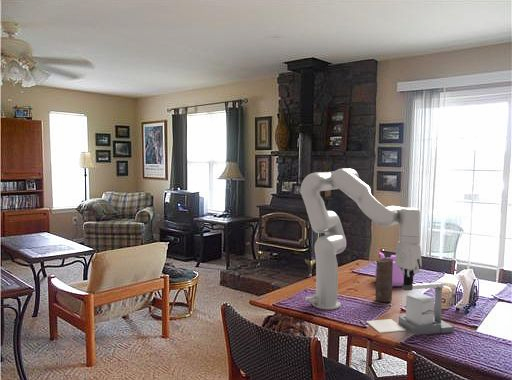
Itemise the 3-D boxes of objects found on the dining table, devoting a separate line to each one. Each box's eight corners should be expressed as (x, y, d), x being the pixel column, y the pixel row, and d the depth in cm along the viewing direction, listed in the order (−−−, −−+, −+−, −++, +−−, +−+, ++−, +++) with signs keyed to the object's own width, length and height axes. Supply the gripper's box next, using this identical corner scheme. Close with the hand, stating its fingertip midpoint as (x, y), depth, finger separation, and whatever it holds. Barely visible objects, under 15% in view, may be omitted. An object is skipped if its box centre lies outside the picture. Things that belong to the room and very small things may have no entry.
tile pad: (379, 333, 153) (379, 332, 153) (366, 322, 164) (366, 321, 164) (406, 330, 155) (406, 329, 155) (391, 319, 166) (391, 319, 166)
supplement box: (420, 333, 153) (421, 300, 152) (404, 326, 160) (405, 294, 159) (433, 329, 156) (434, 297, 156) (418, 323, 163) (419, 292, 162)
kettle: (423, 286, 211) (424, 258, 210) (386, 289, 206) (387, 260, 205) (399, 275, 233) (399, 249, 232) (365, 277, 228) (365, 250, 227)
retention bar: (406, 291, 154) (406, 285, 154) (401, 288, 157) (401, 283, 157) (445, 288, 157) (445, 283, 157) (439, 286, 160) (439, 281, 160)
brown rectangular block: (392, 304, 184) (393, 260, 183) (376, 303, 186) (377, 260, 184) (390, 299, 192) (391, 257, 190) (374, 297, 193) (375, 256, 192)
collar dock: (415, 335, 151) (416, 294, 150) (397, 323, 163) (398, 285, 162) (453, 332, 154) (454, 292, 153) (433, 320, 166) (434, 282, 165)
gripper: (388, 236, 165) (387, 281, 166) (415, 243, 151) (414, 292, 152) (403, 235, 167) (402, 279, 168) (431, 242, 153) (429, 290, 154)
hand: (408, 285), depth 160 cm, fingers closed
